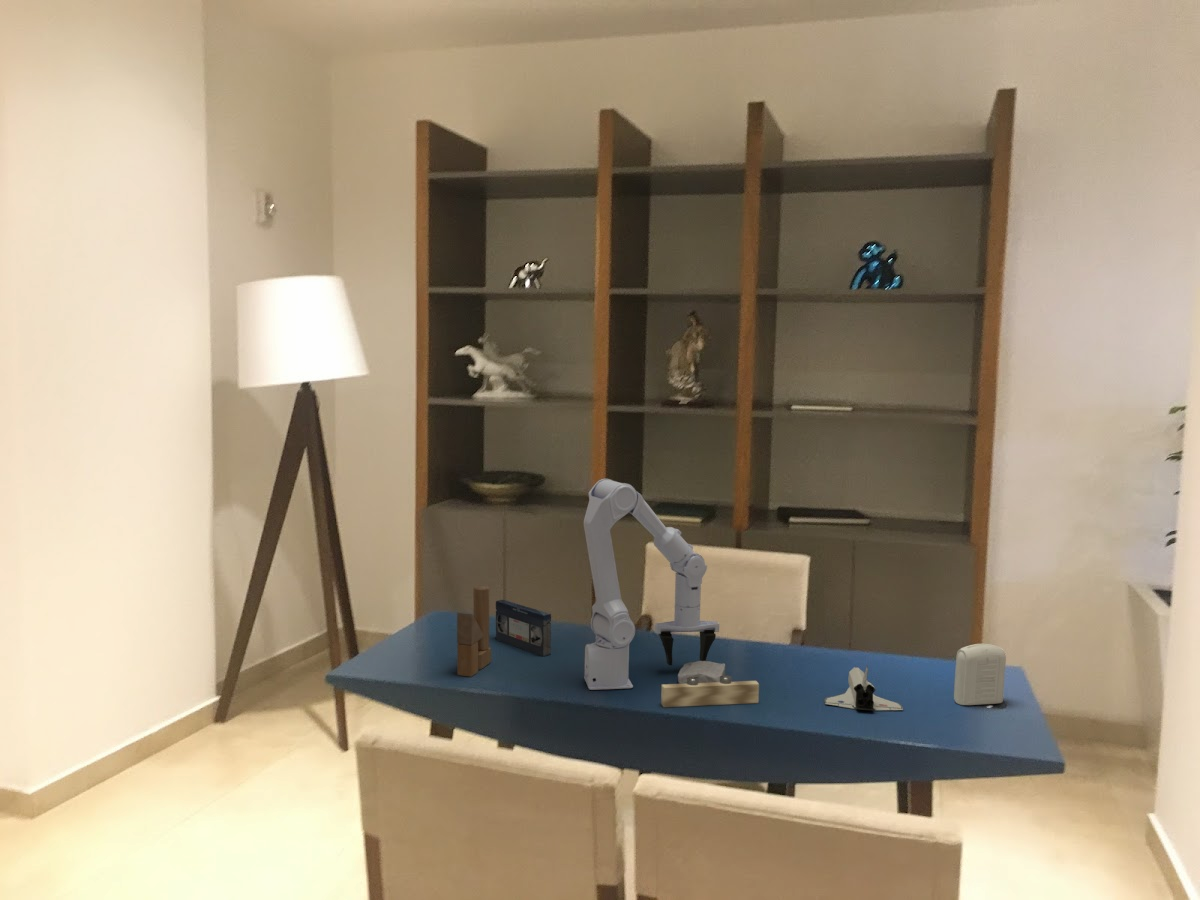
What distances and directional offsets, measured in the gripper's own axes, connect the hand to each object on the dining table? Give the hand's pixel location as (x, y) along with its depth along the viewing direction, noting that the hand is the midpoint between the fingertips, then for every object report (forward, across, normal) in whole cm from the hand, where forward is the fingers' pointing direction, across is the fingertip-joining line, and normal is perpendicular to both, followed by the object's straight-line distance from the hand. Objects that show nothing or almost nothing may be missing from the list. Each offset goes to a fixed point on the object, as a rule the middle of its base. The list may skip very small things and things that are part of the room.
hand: (685, 663), depth 213 cm
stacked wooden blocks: (+2, +47, -7) cm, 48 cm away
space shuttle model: (+3, -34, +18) cm, 38 cm away
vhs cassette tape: (+2, +35, -22) cm, 42 cm away
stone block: (+2, -1, +7) cm, 8 cm away
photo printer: (+2, -56, +26) cm, 62 cm away
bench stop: (+2, 0, +20) cm, 20 cm away
